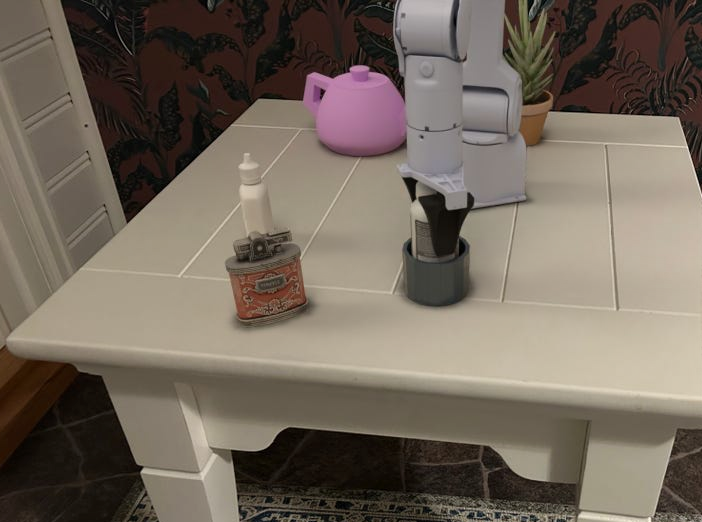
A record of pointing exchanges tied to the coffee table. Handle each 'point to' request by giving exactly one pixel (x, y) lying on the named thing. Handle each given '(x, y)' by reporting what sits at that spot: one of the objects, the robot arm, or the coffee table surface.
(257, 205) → the eye dropper bottle
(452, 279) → the tube
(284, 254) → the lighter
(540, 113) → the potted plant
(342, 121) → the teapot
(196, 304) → the coffee table surface
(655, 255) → the coffee table surface
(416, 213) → the pill bottle
